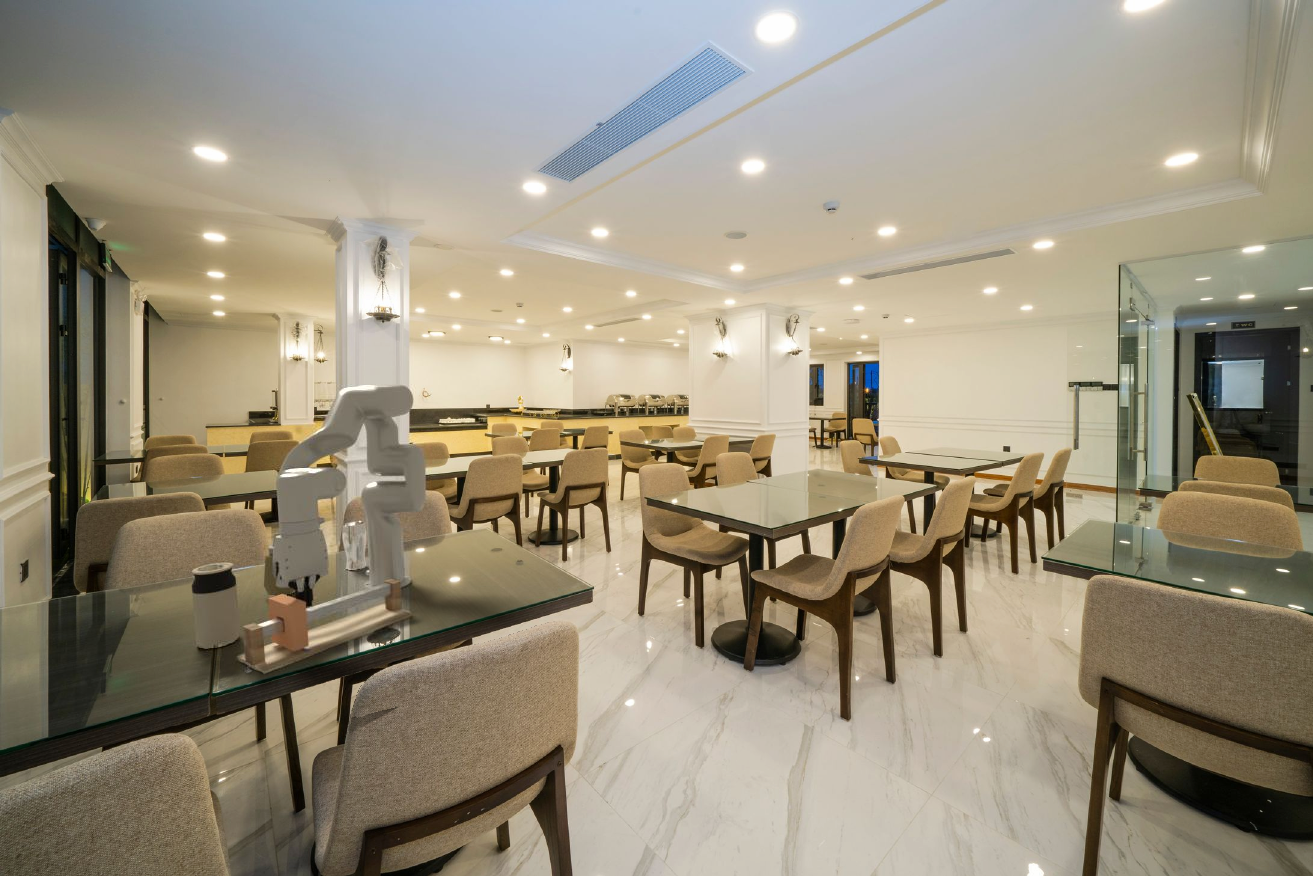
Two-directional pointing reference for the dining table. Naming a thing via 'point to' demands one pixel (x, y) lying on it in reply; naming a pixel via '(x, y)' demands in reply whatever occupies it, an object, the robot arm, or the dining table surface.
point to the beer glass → (354, 544)
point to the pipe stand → (325, 626)
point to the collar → (289, 621)
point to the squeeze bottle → (268, 575)
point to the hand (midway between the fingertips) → (304, 606)
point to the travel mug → (215, 604)
